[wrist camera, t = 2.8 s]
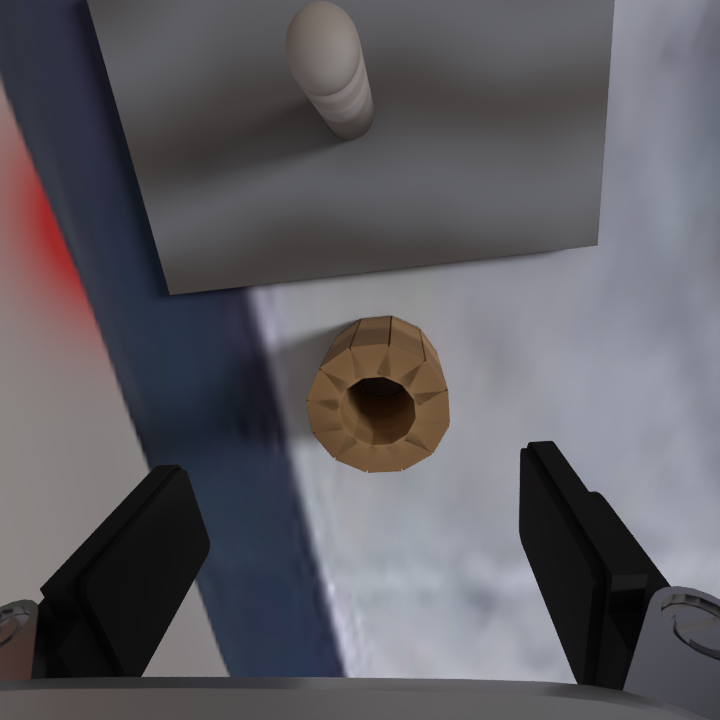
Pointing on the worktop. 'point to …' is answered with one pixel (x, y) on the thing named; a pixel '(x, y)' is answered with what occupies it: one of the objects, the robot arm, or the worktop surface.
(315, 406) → the bead
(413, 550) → the worktop surface
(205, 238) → the needle stand
